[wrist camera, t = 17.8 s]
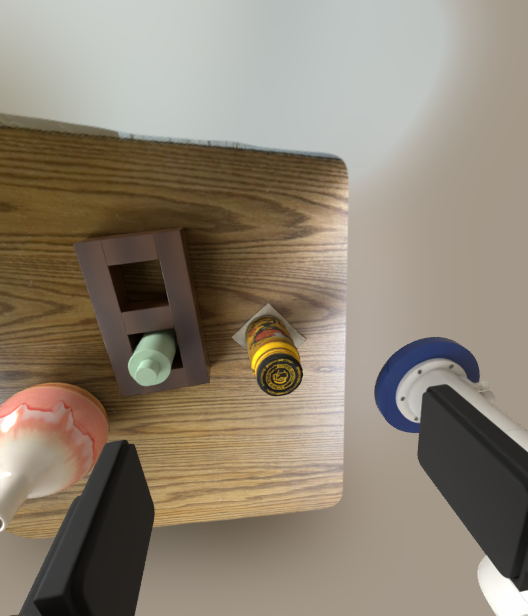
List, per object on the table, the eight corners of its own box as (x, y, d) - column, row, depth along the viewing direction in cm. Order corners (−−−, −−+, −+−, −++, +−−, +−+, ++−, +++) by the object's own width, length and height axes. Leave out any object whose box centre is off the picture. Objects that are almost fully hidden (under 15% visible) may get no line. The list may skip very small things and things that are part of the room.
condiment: (267, 302, 45) (283, 338, 34) (306, 339, 48) (332, 384, 37) (231, 336, 46) (234, 382, 35) (270, 371, 49) (285, 424, 38)
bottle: (175, 320, 44) (163, 354, 35) (181, 351, 46) (172, 391, 37) (139, 325, 44) (118, 361, 35) (147, 356, 46) (129, 398, 36)
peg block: (183, 226, 40) (179, 230, 36) (210, 368, 47) (209, 383, 44) (86, 238, 39) (72, 243, 36) (129, 381, 46) (121, 397, 43)
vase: (121, 370, 46) (66, 470, 29) (118, 446, 50) (68, 571, 34) (15, 361, 43) (-111, 464, 27) (21, 442, 48) (-85, 574, 31)
